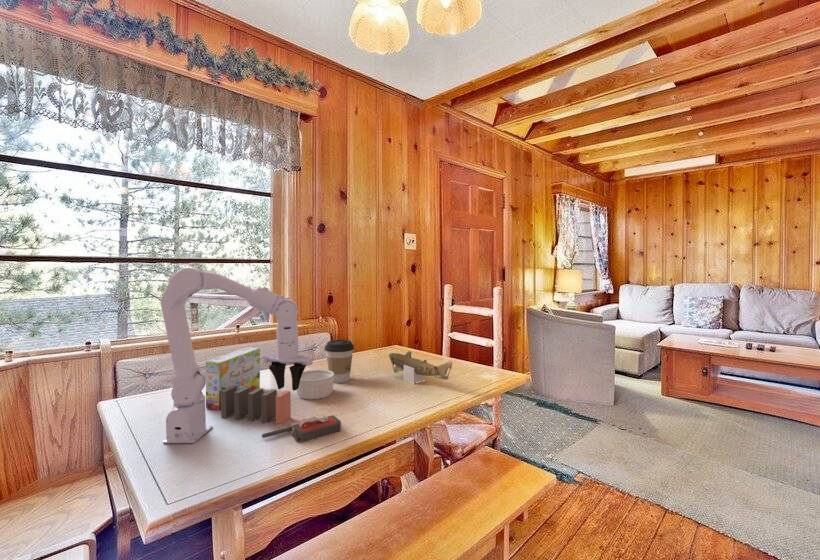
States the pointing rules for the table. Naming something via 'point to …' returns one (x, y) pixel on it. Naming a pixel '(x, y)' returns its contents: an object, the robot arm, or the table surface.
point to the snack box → (232, 374)
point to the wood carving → (417, 368)
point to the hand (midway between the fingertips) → (288, 388)
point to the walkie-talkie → (310, 428)
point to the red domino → (283, 407)
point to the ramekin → (315, 384)
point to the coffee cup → (339, 359)
